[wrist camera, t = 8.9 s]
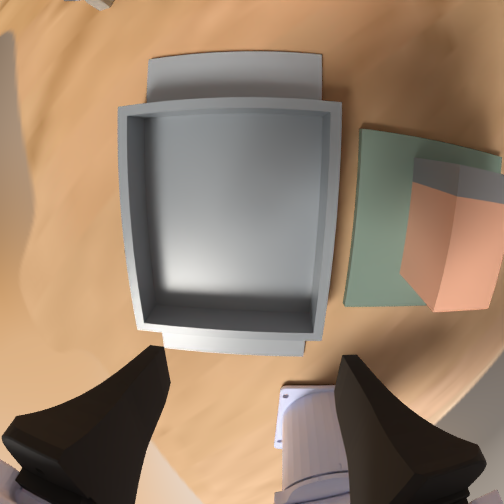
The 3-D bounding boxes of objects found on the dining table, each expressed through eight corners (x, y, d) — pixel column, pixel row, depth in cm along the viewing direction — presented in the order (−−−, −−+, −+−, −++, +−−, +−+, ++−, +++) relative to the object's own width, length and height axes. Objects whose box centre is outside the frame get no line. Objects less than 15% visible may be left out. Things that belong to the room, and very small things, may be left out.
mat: (471, 299, 21) (474, 303, 20) (342, 302, 21) (344, 306, 21) (497, 156, 17) (501, 157, 16) (359, 129, 17) (362, 128, 17)
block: (449, 273, 19) (488, 308, 14) (399, 273, 20) (433, 312, 15) (466, 167, 17) (515, 178, 12) (414, 157, 17) (459, 164, 12)
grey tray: (310, 354, 23) (314, 381, 20) (158, 344, 24) (146, 369, 21) (330, 56, 16) (340, 41, 13) (142, 61, 17) (121, 50, 13)
